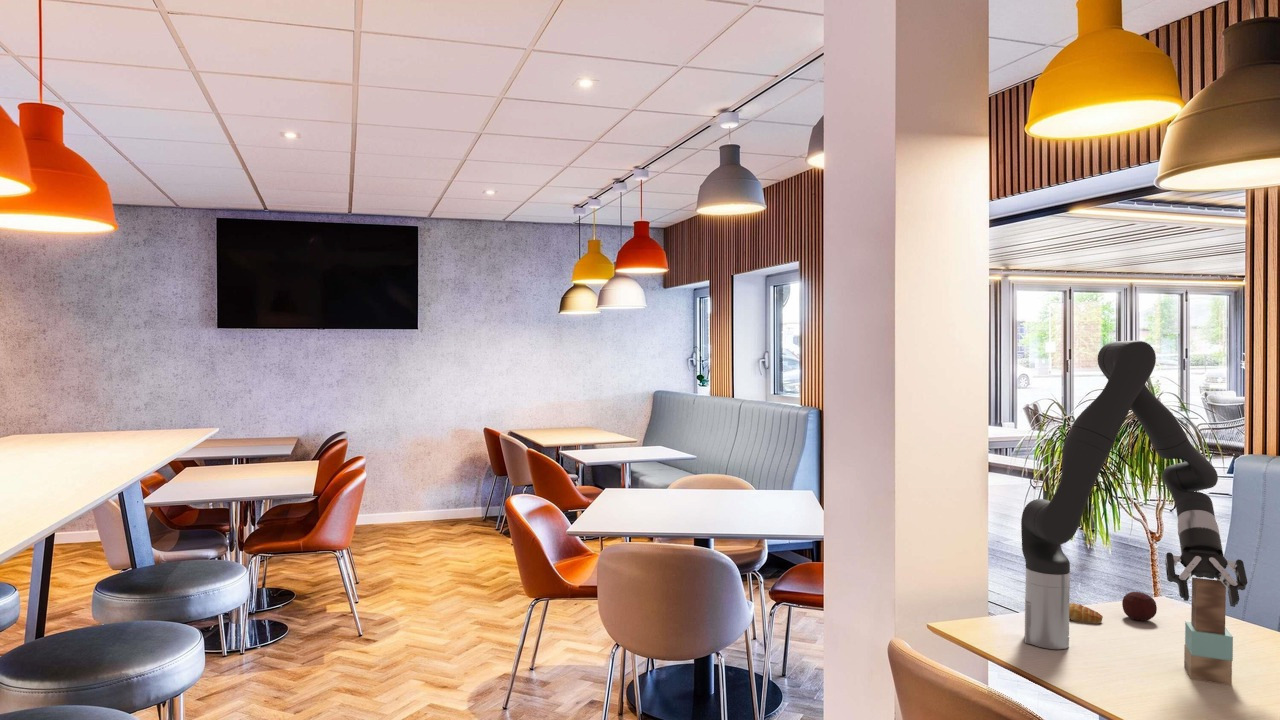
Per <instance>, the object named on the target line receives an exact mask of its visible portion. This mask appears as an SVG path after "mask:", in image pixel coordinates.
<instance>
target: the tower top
mask: <svg viewBox="0 0 1280 720" xmlns="http://www.w3.org/2000/svg"><path fill="white" fill-rule="evenodd" d="M1184 624H1185V626H1184V627H1185V628H1184V635H1185V637H1184V644H1185V645H1186V647H1187V648H1188V650H1189V652H1190V654H1191V655H1193V656H1200V657H1207V658H1214V659H1221V660H1228V661H1232V662H1233V659H1234V657H1233V655H1234V652H1233V651H1234V636H1233V635H1232V634H1231V633H1230V631H1229V629H1228V628H1226V626H1225V635H1223V634H1215V633H1208V632H1201V631H1196V630H1195V629H1194V627H1193V626H1192V624H1191V621H1185V623H1184Z"/></svg>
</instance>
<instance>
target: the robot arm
mask: <svg viewBox="0 0 1280 720" xmlns="http://www.w3.org/2000/svg"><path fill="white" fill-rule="evenodd" d="M1156 356H1157V355H1156V352H1155V349H1154V347H1152V345H1151V344H1149V343H1148V342H1147V341H1143V340H1121V341H1112V342H1111V341H1110V342H1109V343H1106V344H1105V345H1103V346H1102V347H1101V348H1100V350H1099V351H1098V354H1097V365H1098V367H1099V369H1100V371H1101V372H1102V375H1103V376H1104V377H1105V378H1106V379H1107V382H1106V384H1105V386H1104V388H1103V389H1102V391H1101V392H1100V394H1099V395H1098V396H1097V397H1096V398H1095V399H1094V400H1093V401H1091V402H1090V404H1089V405H1088V406H1087V407H1086V408H1085V409H1084V410H1082V412H1081V413H1080V414H1079V415H1078V416H1077V418H1076V419H1075V420H1074V422H1073V424H1072V425H1071V428H1070V429H1069V431H1068V434H1067V436H1066V438H1065V440H1064V442H1063V447H1062V451H1061V477H1060V481H1059V483H1058V486H1057V488H1056V491H1055V493H1054V495H1053V496H1052V498H1051V500H1048V499H1044V498H1037V499H1033V500H1031V501H1029V502H1028V503H1027V504H1026V505H1025V507H1024V509H1023V511H1022V515H1021V522H1020V527H1021V531H1020V532H1021V550H1022V555H1023V558H1024V560H1025V589H1024V590H1025V593H1024V643H1025V644H1030V645H1032V646H1036V647H1039V648H1042V649H1049V650H1064V649H1068V648H1069V645H1070V619H1069V603H1070V598H1071V597H1070V596H1071V595H1070V594H1071V593H1070V591H1071V590H1070V585H1071V580H1070V579H1071V575H1070V574H1071V573H1070V572H1071V571H1070V570H1071V563H1070V560H1069V558H1068V557H1067V555H1065V553H1064V551H1063V549H1062V547H1061V545H1063V544H1065V543H1068V542H1069V541H1070V540H1071V539H1073V537H1074V536H1075V535H1076V534H1077V531H1078V529H1079V525H1080V523H1081V520H1082V518H1083V515H1084V512H1085V508H1086V507H1087V502H1088V501H1089V500H1088V499H1089V497H1090V494H1091V492H1092V490H1093V488H1094V485H1095V483H1096V481H1097V480H1098V477H1099V475H1100V473H1101V470H1102V468H1103V465H1104V463H1105V462H1106V461H1107V458H1108V456H1109V455H1110V453H1111V450H1112V448H1113V445H1114V444H1115V442H1116V439H1117V438H1118V434H1119V433H1120V430H1121V428H1122V426H1123V425H1124V423H1125V420H1126V418H1127V416H1128V415H1129V413H1130V410H1131V412H1133V414H1134V416H1135V417H1136V419H1137V420H1138V421H1139V424H1141V425H1140V426H1142V428H1143V430H1144V432H1145V434H1146V435H1147V437H1148V439H1149V441H1150V443H1151V444H1152V446H1153V448H1154V450H1155V452H1156V453H1157V455H1158V456H1159V457H1160V458H1161V459H1165V460H1181V461H1182V462H1179V463H1175V464H1171V465H1168V466H1166V467H1165V468H1164V469H1163V472H1162V477H1161V478H1162V480H1163V482H1164V485H1165V487H1166V488H1167V489H1168V492H1169V493H1170V494H1171V497H1172V499H1173V502H1174V504H1175V511H1176V517H1177V535H1178V539H1179V540H1178V541H1179V547H1180V552H1181V553H1180V554H1181V555H1174V554H1173V553H1172V552H1167V553H1166V555H1165V559H1164V564H1165V571H1166V579H1167V581H1168V582H1169V583H1176V584H1177V585H1178V593H1179V597H1180V598H1181V599H1183V601H1184V602H1188V601H1189V599H1190V593H1189V592H1190V591H1189V585H1188V581H1189V580H1190V579H1192V577H1193V576H1194V577H1195V578H1205V579H1211V580H1220V581H1221V582H1222V583H1223V584H1224V585H1225V586H1226V590H1227V589H1228V590H1227V596H1228V600H1229V606H1230V607H1233V608H1235V607H1236V606H1237V605H1238V604H1239V600H1240V595H1239V590H1241V591H1245V590H1246V588H1247V585H1248V582H1249V581H1248V578H1247V573H1246V570H1245V569H1246V568H1245V565H1244V561H1243V560H1242V559H1240V558H1239V559H1236V560H1227V559H1226V557H1225V555H1224V551H1223V546H1222V540H1221V535H1220V529H1219V525H1218V522H1217V520H1216V516H1215V510H1214V505H1213V501H1212V498H1211V497H1210V496H1209V495H1208V494H1206V493H1204V492H1200V491H1205V490H1208V489H1212V488H1214V487H1215V486H1216V485H1217V484H1218V481H1219V476H1218V472H1217V470H1216V469H1215V467H1214V466H1213V464H1212V463H1211V462H1210V461H1209V460H1208V459H1206V457H1204V455H1203V454H1201V453H1200V452H1199V451H1198V449H1197V448H1195V446H1194V444H1192V442H1191V441H1190V439H1188V437H1187V435H1186V433H1185V432H1184V430H1183V428H1182V426H1181V424H1180V422H1179V421H1178V419H1177V418H1176V416H1175V415H1174V414H1173V412H1171V411H1170V410H1169V408H1168V407H1167V406H1165V405H1164V404H1163V402H1161V401H1160V400H1159V399H1158V398H1157V397H1156V396H1155V394H1153V392H1151V390H1150V389H1149V387H1147V385H1146V383H1147V381H1148V380H1149V378H1150V377H1151V375H1152V373H1153V371H1154V370H1155V369H1154V368H1155V366H1156V362H1157V357H1156ZM1183 461H1184V462H1183ZM1178 563H1179V564H1181V565H1182V566H1183V567H1184V570H1183V571H1182V572H1181V573H1180V574H1177V573H1176V569H1175V568H1176V567H1175V566H1177V565H1178ZM1227 568H1230V571H1232V572H1233V573H1234V575H1235V578H1236V580H1235V579H1234V578H1233V577H1232V576H1231V575H1230V572H1228V570H1226V569H1227Z"/></svg>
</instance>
